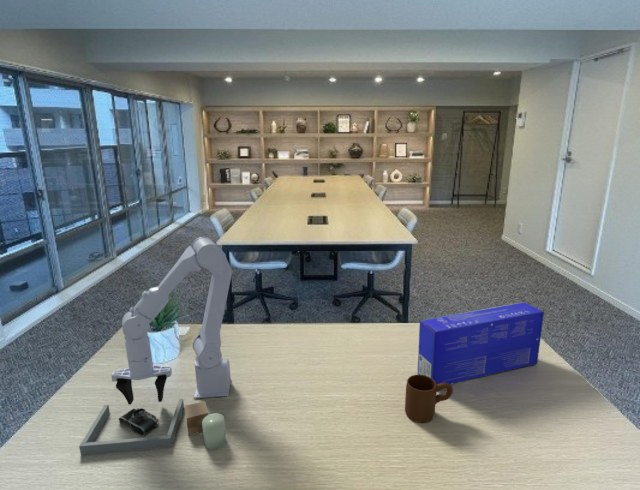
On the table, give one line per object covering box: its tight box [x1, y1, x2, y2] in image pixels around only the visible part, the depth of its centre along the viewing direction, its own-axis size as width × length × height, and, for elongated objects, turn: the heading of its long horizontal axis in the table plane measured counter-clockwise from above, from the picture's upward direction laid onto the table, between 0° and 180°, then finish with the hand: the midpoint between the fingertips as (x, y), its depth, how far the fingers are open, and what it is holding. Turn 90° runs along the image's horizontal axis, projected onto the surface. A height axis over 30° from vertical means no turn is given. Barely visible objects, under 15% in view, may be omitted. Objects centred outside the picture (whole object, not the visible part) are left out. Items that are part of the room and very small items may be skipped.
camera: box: [118, 407, 160, 437], centre depth 101 cm, size 5×10×4 cm, turn 59°
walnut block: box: [184, 400, 209, 436], centre depth 100 cm, size 5×5×5 cm
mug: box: [404, 374, 454, 424], centre depth 103 cm, size 12×8×9 cm, turn 91°
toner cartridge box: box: [417, 301, 545, 385], centre depth 122 cm, size 39×8×18 cm, turn 108°
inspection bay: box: [78, 398, 185, 456], centre depth 99 cm, size 20×14×2 cm
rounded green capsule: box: [202, 413, 227, 451], centre depth 95 cm, size 5×5×6 cm
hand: (146, 400), depth 107 cm, fingers open, 7 cm apart
